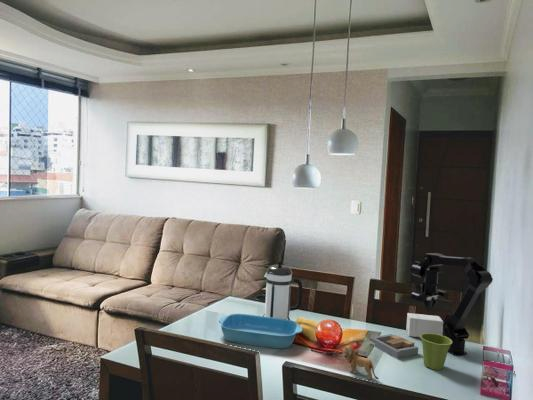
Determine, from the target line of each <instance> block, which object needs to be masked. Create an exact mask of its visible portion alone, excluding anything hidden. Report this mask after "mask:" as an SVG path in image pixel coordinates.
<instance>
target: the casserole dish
mask: <svg viewBox="0 0 533 400" xmlns="http://www.w3.org/2000/svg"><path fill="white" fill-rule="evenodd" d="M218 323H219V324H220V327H221V332H222V335H223V337H224V338H225V339H226V340H227V341H228V342H231V343H237V344H243V345H249V346H250V345H251V346H256V347H262V348H263V347H264V348H272V349H287V348H289V347H290V346H291V345H292V344H293V343H294V340H295V338H296V336H297V334H301V333H302V332H303V327H302V326H301V325H299V323H298V322H297V321H294V320H291V319H290V320H288V319H287V320H286V319H280V318H272V317H265V315H264V316H263V315H255V314H250V313H249V314H246V313H232V314H229V315H226V316H222V317H220V318H219V319H218Z"/></svg>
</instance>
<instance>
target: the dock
mask: <svg viewBox="0 0 533 400" xmlns="http://www.w3.org/2000/svg"><path fill="white" fill-rule="evenodd" d="M393 335H394V334H392V333H390V334H383V335H377V336H369V337H368V338H369V339H368V341H369V340H370V341H372V342H373V343H375V348H377V349H378V350H380V351H382V352H383V353H385V354H386V355H389V356H391V357H393V358H394V359H396V360H399V359H400V358H406V357H412V356H417V355H419V347H418V346H417V345H414V346H413V347H408V348H402V349H395V348H393V347H391V346H389V345H387V344H386V341H390V336H393Z"/></svg>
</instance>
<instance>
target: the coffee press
mask: <svg viewBox="0 0 533 400" xmlns="http://www.w3.org/2000/svg"><path fill="white" fill-rule="evenodd" d="M292 275H293V271H292V268H291V267H290V266H287V265H284V264H283V261H282V260H278V261H277V264H273V265H269V267H267V269H266V272H265V274H264V276H263V277H264V278H266V280H265V282H266V287H265V306H264V307H265V308H264V313H263V315H262V316H265V317H272V318H280V319H286V320H291V318H290V312H292V311H293V312H294V311H297V310H298V309H300V307H301V305H302V303H303V302H302V298H303V283H302V281H301V280H300V279H298V278H295V277H294V278H292V277H293V276H292ZM292 283H297V286H298V293H297V303H296V304H295V306H291V290H292Z"/></svg>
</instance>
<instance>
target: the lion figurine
mask: <svg viewBox="0 0 533 400" xmlns="http://www.w3.org/2000/svg"><path fill="white" fill-rule="evenodd" d="M341 355H342V357H343V358H344V359H345V360H346V361H347V363H348V364H350V368H351V369H350V370H349V373H350V374H351V373H352V374H353V373H355V371H356V369H357V367H360V368H364V370H365V372H366V376H368V379H369V380H368V381H369V382H371V381H373V377H374V378H375V379H376V380H379V379H380V378H379V377H377V376H376V374H375V368H374V364H373V362H372V360H371V359H370V358H366V357H362V356H360V354H359V352H358V351H357V350H355V349H354V347H352V346H350V345H346V346H343V351H342V353H341Z"/></svg>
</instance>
